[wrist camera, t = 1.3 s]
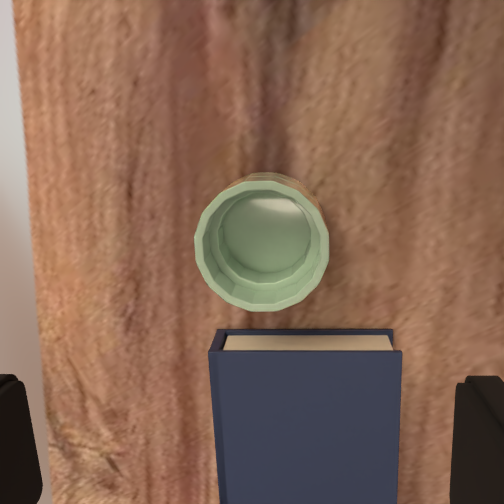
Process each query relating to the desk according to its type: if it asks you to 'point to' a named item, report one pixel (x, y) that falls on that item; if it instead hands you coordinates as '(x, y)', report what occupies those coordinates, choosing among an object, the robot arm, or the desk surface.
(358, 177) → the desk surface
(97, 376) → the desk surface
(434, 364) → the desk surface
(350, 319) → the desk surface
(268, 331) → the book
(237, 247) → the bowl
